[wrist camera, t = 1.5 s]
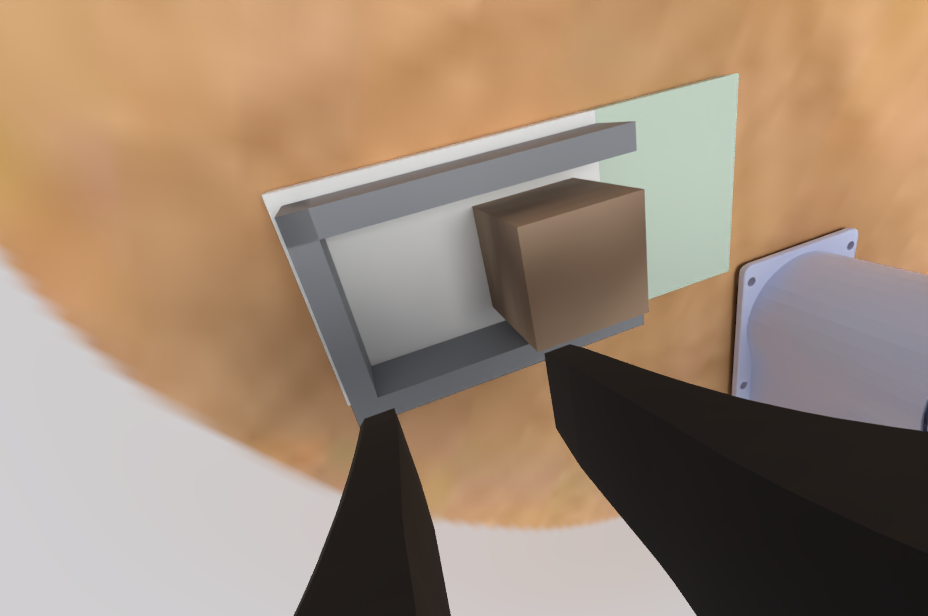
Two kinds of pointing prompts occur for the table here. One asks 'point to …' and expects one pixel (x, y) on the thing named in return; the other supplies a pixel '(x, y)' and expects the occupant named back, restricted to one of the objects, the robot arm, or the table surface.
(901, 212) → the table surface
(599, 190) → the walnut cube
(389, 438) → the robot arm
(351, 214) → the bay board
